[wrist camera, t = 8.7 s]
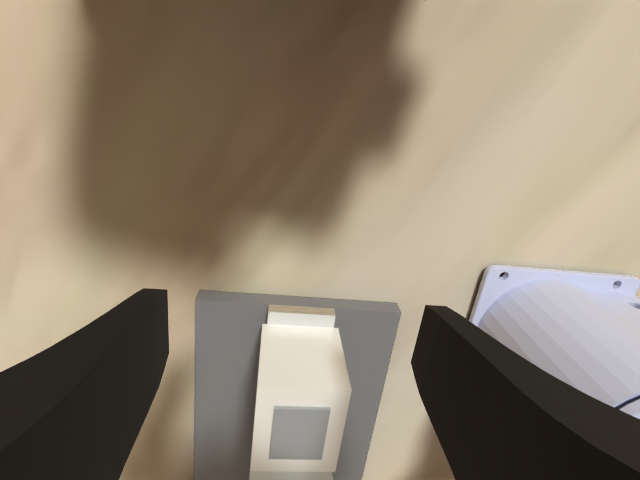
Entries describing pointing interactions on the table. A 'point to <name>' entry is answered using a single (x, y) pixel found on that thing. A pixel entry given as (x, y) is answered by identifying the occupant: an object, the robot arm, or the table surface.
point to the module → (289, 475)
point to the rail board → (241, 375)
